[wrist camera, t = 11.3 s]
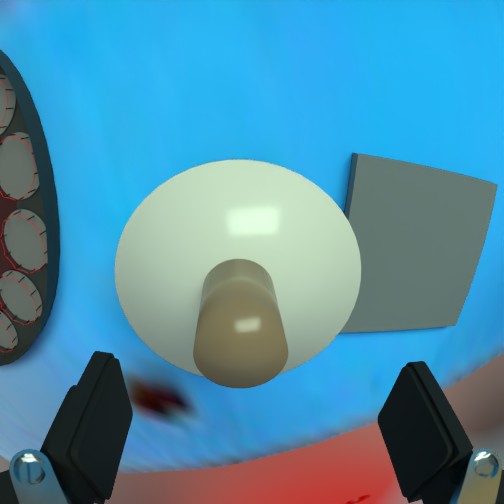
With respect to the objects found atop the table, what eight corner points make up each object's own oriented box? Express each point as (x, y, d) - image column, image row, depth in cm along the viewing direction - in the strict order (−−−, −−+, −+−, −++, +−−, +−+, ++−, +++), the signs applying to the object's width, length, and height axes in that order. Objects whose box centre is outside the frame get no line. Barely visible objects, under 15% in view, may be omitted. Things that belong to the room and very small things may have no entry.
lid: (375, 172, 15) (439, 201, 10) (330, 371, 20) (353, 438, 15) (112, 156, 14) (52, 178, 9) (133, 364, 19) (112, 434, 14)
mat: (490, 182, 21) (497, 184, 21) (450, 320, 27) (455, 325, 26) (352, 152, 20) (358, 154, 19) (322, 325, 26) (325, 333, 25)
